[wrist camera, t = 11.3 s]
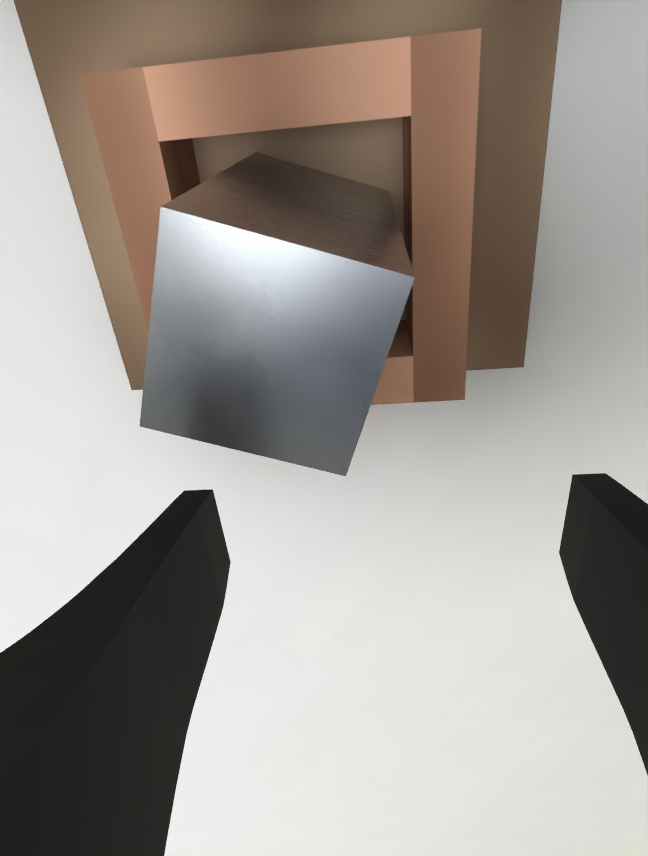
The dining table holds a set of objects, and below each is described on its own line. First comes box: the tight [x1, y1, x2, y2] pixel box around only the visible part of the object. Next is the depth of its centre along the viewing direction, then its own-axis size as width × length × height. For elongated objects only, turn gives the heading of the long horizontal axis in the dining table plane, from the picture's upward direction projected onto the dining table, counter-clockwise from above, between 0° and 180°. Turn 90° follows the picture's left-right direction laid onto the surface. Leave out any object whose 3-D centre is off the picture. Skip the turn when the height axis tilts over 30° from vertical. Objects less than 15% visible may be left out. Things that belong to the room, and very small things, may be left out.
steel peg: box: [140, 152, 415, 476], centre depth 13 cm, size 4×4×9 cm
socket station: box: [14, 0, 562, 405], centre depth 12 cm, size 14×16×11 cm
